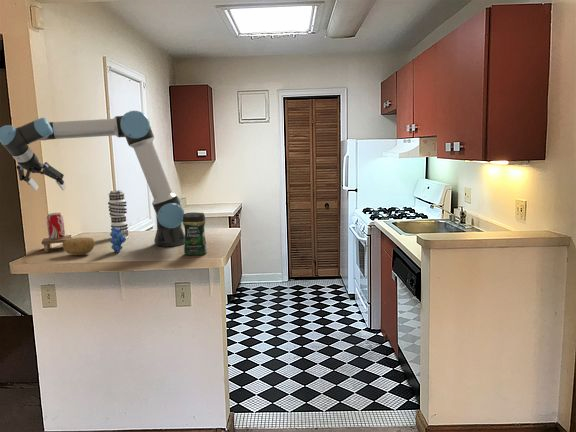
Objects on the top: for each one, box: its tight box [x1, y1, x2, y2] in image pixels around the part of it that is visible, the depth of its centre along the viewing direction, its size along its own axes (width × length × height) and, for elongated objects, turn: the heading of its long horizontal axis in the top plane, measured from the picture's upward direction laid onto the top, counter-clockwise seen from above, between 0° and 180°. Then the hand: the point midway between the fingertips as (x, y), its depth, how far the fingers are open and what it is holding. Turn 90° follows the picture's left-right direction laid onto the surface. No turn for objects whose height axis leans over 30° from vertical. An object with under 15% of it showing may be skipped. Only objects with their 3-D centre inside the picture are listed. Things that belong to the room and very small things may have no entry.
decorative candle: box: [107, 190, 129, 240], centre depth 246 cm, size 9×9×25 cm
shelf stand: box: [41, 234, 72, 253], centre depth 225 cm, size 12×12×5 cm
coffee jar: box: [182, 212, 208, 256], centre depth 206 cm, size 10×8×19 cm
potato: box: [61, 236, 95, 256], centre depth 211 cm, size 10×14×8 cm
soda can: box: [46, 212, 66, 239], centre depth 224 cm, size 7×7×12 cm
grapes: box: [109, 227, 127, 254], centre depth 214 cm, size 12×7×12 cm, turn 4°
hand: (50, 188), depth 216 cm, fingers open, 13 cm apart
